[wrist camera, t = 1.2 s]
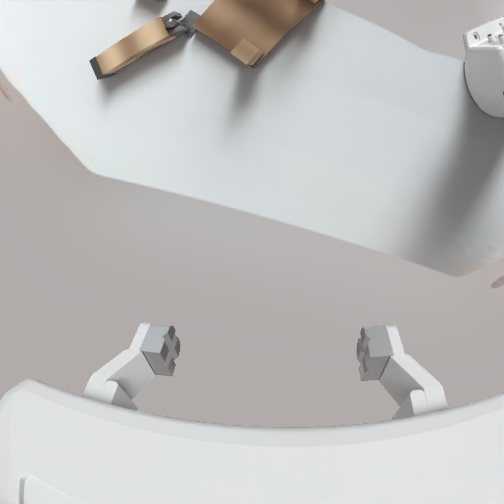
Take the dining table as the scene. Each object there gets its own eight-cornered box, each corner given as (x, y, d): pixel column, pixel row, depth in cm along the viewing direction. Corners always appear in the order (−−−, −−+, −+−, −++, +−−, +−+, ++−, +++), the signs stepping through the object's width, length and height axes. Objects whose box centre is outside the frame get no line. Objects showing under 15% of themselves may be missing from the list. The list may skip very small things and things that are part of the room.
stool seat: (266, -43, 25) (261, -67, 17) (326, -3, 28) (337, -19, 21) (196, 28, 33) (174, 20, 25) (254, 68, 36) (246, 68, 29)
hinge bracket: (188, 9, 31) (178, 3, 27) (205, 18, 32) (196, 14, 28) (174, 27, 33) (161, 23, 29) (190, 37, 34) (179, 34, 30)
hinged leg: (181, 13, 31) (172, 9, 28) (189, 32, 33) (181, 30, 30) (102, 59, 36) (89, 60, 33) (110, 77, 38) (97, 79, 34)
